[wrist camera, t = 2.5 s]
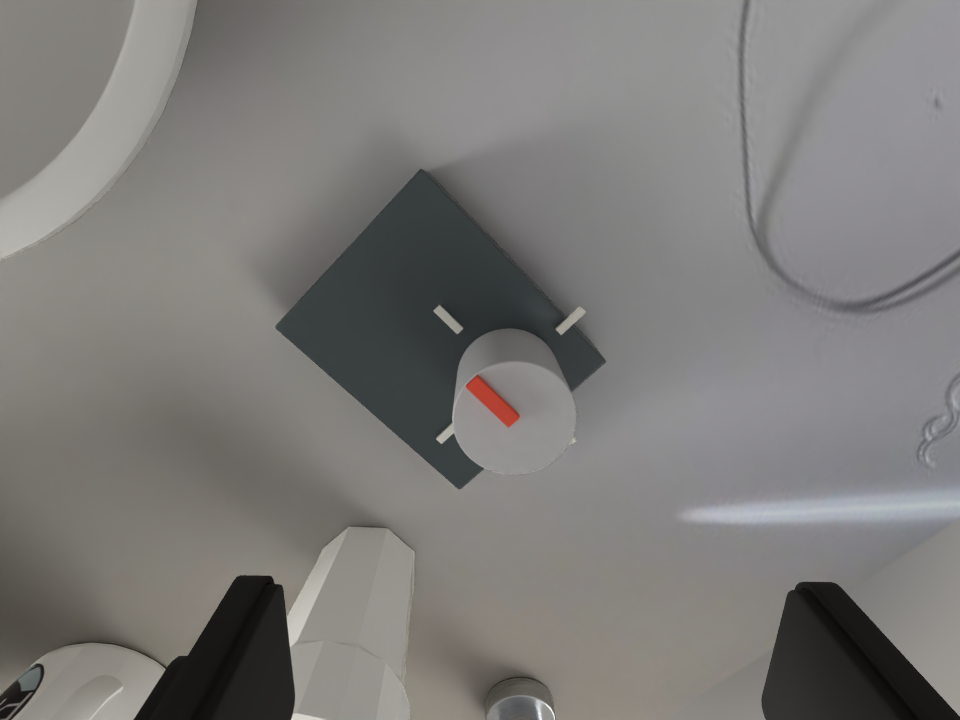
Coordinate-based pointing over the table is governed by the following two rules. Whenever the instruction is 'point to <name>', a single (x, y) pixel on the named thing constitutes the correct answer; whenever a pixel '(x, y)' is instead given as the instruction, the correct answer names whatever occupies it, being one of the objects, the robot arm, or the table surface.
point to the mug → (82, 685)
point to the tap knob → (512, 403)
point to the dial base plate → (425, 318)
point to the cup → (353, 629)
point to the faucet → (519, 701)
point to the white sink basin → (78, 103)
